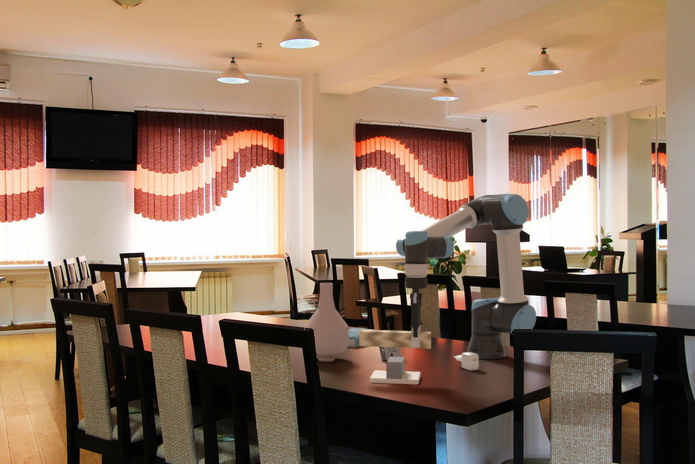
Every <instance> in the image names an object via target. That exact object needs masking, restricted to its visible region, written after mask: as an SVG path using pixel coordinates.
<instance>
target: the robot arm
mask: <svg viewBox="0 0 695 464" xmlns="http://www.w3.org/2000/svg"><path fill="white" fill-rule="evenodd" d="M529 214H530V211H529V206H528V203H527V201H526V200H525V198H523V196H522V195H520V194H517V193H501V194H485V195H482V196H479V197H477V198H475V199H472V200H470V201H469V202H466V203H464V204H462V205H461V206H459V207H458V209H457V211H455V212H453V213H451V214H449V215H448V216H446V217H443V218H442V219H440V220H438V221H436V222H434V223H432V224H430V225H428V226H427V227H424V228H423V229H420V230H408V231H406V233H405V235H404V236H400V237H399V238H398V239H397V240H396V244H395V250H396V252H397V254H398V255H399V256H401V257H404V262H405V263H404V266H403V270H404V275H405V276H406V277H404V287H405V288H406V289H411V290H412V291H411V293H409V299H410V307H411V308H410V310H411V311H410V312H411V313H410V315H411V316H410V319H411V320H410V321H411V323H410V325H408V326H409V328H411V330H410V331H411V347H420V332H422V331H421V328H422V327H421V326H423V322H422V318H421V315H422V313H421V311H422V309H421V308H422V303H423V302H422V301H423V300H422V299H423V293H421V290H423V289H427V288H428V278H427V277H428V259H446V258H450V257H451V256H452V255H453V253H454V251H455V244H454V243H455V242H454V241H453V240H452V238H451V237H454V236H455V235H457V234H459V233H460V232H463V231H464V230H467V229H473V228H475V227H477V226H484V225H485V226H486V225H487V226H489V225H491V232H493V233H494V234H495V235H496V246H497V248H496V249H497V260H498V262H497V263H498V273H499V284H500V285H499V286H500V296H499V297H495V298H494V297H493V298H492V297H491V298H481V299H474V300H473V301H472V303H471V309H470V310H471V337H470V341H469V344H468V347H467V351H466V352H472V353H475V354H478V357H479V359H483V360H499V359H503V358H504V359H505V358H506V356H507V351H506V348H505V345H504V342H503V338H502V333H504V334H511V335H513V334H512V331H513V330H514V329H532V330H533V328H534V327H535V324H536V320H537V311H536V309H535V307H534V306H532V305H530V303H529V297H527V296H526V295H525V291H524V279H523V278H524V277H523V265H522V263H523V262H522V253H521V252H522V251H521V250H522V248H521V239H520V238H521V237H520V232H522V231H523V230H524V224H525V223H526V222H527V221H528V218H529Z"/></svg>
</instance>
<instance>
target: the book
mask: <svg viewBox="0 0 695 464" xmlns="http://www.w3.org/2000/svg"><path fill="white" fill-rule="evenodd" d="M360 330H373V329H372V328H371V329H369V328H363V327H362V328H360V327H353V328H348V332H349V344H348V346H347V348H352V347H354V348H353V349H356V348H359V347H361V346H359V337H360Z"/></svg>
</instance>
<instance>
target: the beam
mask: <svg viewBox="0 0 695 464" xmlns="http://www.w3.org/2000/svg"><path fill="white" fill-rule="evenodd" d="M359 346H360V347H377V348H379V347H398V348H400V349H403V348H405V349H426V350H427V349H428V350H429V349H431V348H432V331H421V332H420V347H411V330H409V331H408V330H388V329H387V330H385V329H383V330H381V329H372V330H360V337H359Z"/></svg>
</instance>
